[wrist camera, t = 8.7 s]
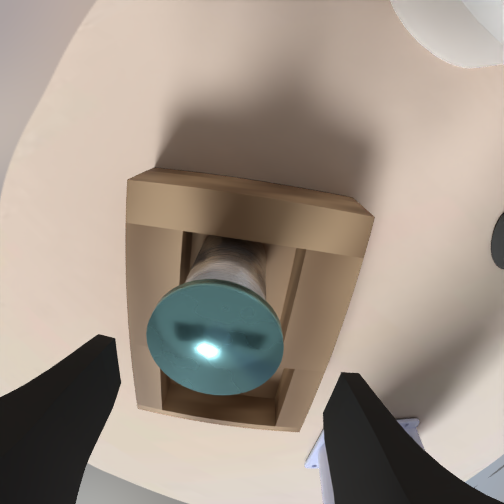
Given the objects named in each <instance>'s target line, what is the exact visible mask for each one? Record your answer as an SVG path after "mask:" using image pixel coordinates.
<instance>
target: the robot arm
mask: <svg viewBox="0 0 504 504" xmlns="http://www.w3.org/2000/svg"><path fill="white" fill-rule="evenodd" d="M120 384H121V379H120V372H119V365H118V358H117V350H116V341H115V338H112V337H108V336H104V335H100V334H98V335H97V336H95V337H94V338H92V339H91V340H89V341H88V342H87V343H85V344H84V345H82V346H81V347H80V348H78V349H77V350H76V351H74V352H73V353H71V354H70V355H69V356H67V357H66V358H65V359H63V360H62V361H60V362H59V363H57V364H56V365H55V366H53V367H52V368H50V369H49V370H47V371H46V372H44V373H42V374H41V375H39V376H38V377H36V378H35V379H33V380H31V381H30V382H28V383H27V384H25V385H23V386H21V387H20V388H18V389H16V390H14V391H12V392H10V393H8V394H6V395H4V396H2V397H0V504H75V503H76V499H77V495H78V491H79V487H80V484H81V481H82V477H83V473H84V470H85V467H86V465H87V462H88V460H89V457H90V455H91V453H92V451H93V449H94V446H95V444H96V442H97V440H98V438H99V436H100V434H101V432H102V430H103V427H104V425H105V423H106V421H107V419H108V417H109V415H110V413H111V411H112V408H113V406H114V403H115V400H116V397H117V394H118V391H119V387H120ZM419 423H420V422H419V419H417V418H415V419H401V420H396V419H395V418H394V417H393V416H392V414H391V413H390V412H389V411H388V410H387V408H386V407H385V406H384V405H383V403H382V402H381V401H380V399H379V398H378V397H377V396H376V394H375V393H374V392H373V390H372V389H371V388H370V387H369V385H368V384H367V383H366V381H365V380H364V379H363V378H362V376H361V375H360V374H359V373H345V372H341V375H340V377H339V379H338V381H337V384H336V386H335V388H334V390H333V393H332V395H331V397H330V399H329V401H328V403H327V405H326V408H325V410H324V412H323V425H324V429H323V431H322V433H321V435H320V437H319V439H318V440H317V442H316V444H315V446H314V448H313V449H312V451H311V453H310V455H309V457H308V458H307V460H306V462H305V464H304V465H305V467H306V468H319V472H320V481H321V490H322V499H323V504H504V503H503V502H500V501H498V500H496V499H494V498H492V497H489V496H487V495H485V494H484V493H482V492H480V491H478V490H476V489H475V488H473V487H471V486H469V485H468V484H467V483H465V482H463V481H462V480H460V479H459V478H458V477H456V476H455V475H453V474H452V473H451V472H449V471H448V470H447V469H445V468H444V467H443V466H442V465H440V464H439V463H438V462H437V461H436V460H435V459H433V458H432V457H431V456H430V455H429V454H428V453H427V452H426V451H425V450H424V447H423V444H422V442H421V439H420V436H419V434H418V431H417V429H416V427H417V426H418V424H419Z"/></svg>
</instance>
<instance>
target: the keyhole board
mask: <svg viewBox="0 0 504 504" xmlns="http://www.w3.org/2000/svg"><path fill="white" fill-rule="evenodd" d="M374 218H375V217H374V216H373V215H372V214H371V213H370V212H368V211H367V210H366V209H365V208H364V207H363V206H362V205H360V204H359V203H358V202H357V201H356V200H355V199H354V198H352V197H347V196H342V195H336V194H331V193H326V192H321V191H315V190H310V189H304V188H299V187H293V186H287V185H281V184H275V183H269V182H262V181H256V180H249V179H243V178H236V177H229V176H221V175H214V174H206V173H198V172H190V171H181V170H172V169H163V168H152V169H150V170H148V171H145V172H143V173H141V174H139V175H136V176H134V177H132V178H130V179H128V180H127V197H126V289H127V310H128V325H129V338H130V349H131V359H132V368H133V377H134V385H135V393H136V400H137V407H138V409H141V410H146V411H150V412H154V413H159V414H163V415H168V416H173V417H178V418H183V419H189V420H194V421H200V422H206V423H213V424H219V425H227V426H234V427H243V428H252V429H262V430H274V431H288V432H300V429H301V427H302V425H303V423H304V420H305V418H306V416H307V414H308V411H309V409H310V407H311V404H312V402H313V400H314V397H315V395H316V392H317V390H318V388H319V385H320V383H321V380H322V378H323V375H324V373H325V370H326V367H327V365H328V362H329V360H330V357H331V354H332V352H333V349H334V346H335V344H336V341H337V338H338V335H339V333H340V330H341V327H342V324H343V321H344V318H345V315H346V312H347V309H348V306H349V303H350V300H351V297H352V294H353V291H354V288H355V285H356V282H357V278H358V275H359V272H360V268H361V265H362V262H363V258H364V255H365V251H366V248H367V244H368V241H369V237H370V233H371V230H372V226H373V222H374ZM209 235H215V236H222V237H228V238H235V239H242V240H248V241H255V242H261V243H262V244H263V247H264V249H265V254H266V301H267V302H268V303H269V305H270V306H271V307H272V308H273V310H274V311H275V313H276V314H277V316H278V318H279V320H280V323H281V327H282V333H283V344H284V350H283V357H282V361H281V363H280V365H279V367H278V369H277V371H276V372H275V373H274V374H273V376H272V377H271V378H270V379H269V380H267V381H266V382H265V383H264V384H262V385H260V386H259V387H257V388H255V389H253V390H250V391H247V392H244V393H240V394H234V395H211V394H205V393H201V392H197V391H194V390H191V389H189V388H186V387H184V386H182V385H180V384H179V383H177V382H175V381H174V380H172V379H171V378H170V377H169V376H167V375H166V374H165V373H164V372H163V371H162V370H161V369H160V368H159V367H158V365H157V364H156V362H155V361H154V359H153V358H152V356H151V354H150V351H149V348H148V344H147V338H146V332H147V325H148V322H149V319H150V317H151V315H152V313H153V311H154V309H155V307H156V306H157V304H158V302H159V301H160V300H161V298H162V297H163V296H164V295H165V294H166V293H168V292H169V291H170V290H172V289H173V288H175V287H177V286H179V285H181V284H184V283H185V281H186V279H187V276H188V274H189V272H190V270H191V268H192V266H193V264H194V262H195V259H196V257H197V255H198V253H199V251H200V249H201V247H202V245H203V243H204V241H205V240H206V238H207V237H208V236H209Z"/></svg>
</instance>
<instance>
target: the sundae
mask: <svg viewBox="0 0 504 504" xmlns="http://www.w3.org/2000/svg"><path fill="white" fill-rule="evenodd" d="M491 253H492V258H493V260H494V262H495V264H496V265H497V266H498V267H499V268H501V269H504V214H503V215H502V216H501V217H500V219H499V220H498V222H497V224H496V227H495V229H494V232H493V236H492V242H491Z"/></svg>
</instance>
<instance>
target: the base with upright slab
mask: <svg viewBox="0 0 504 504" xmlns="http://www.w3.org/2000/svg"><path fill="white" fill-rule="evenodd" d="M390 2H391V4H392V6H393V9H394V11H395V13H396V14H397V16H398V17H399V19H400V20H401V22H402V23H403V25H404V27H405V28H406V29H407V30H408V31H409V33H410V34H411V35H412V36H413V37H414V38H415V39H416V40H417V41H418V42H419V44H421V45H422V46H423V47H424V48H426V49H427V50H428V51H430V52H431V53H432V54H433V55H434V56H436V57H438V58H440V59H442V60H444V61H445V62H447V63H449V64H451V65H455V66H459V67H462V68H481V67H488V66H496V65H504V0H390Z"/></svg>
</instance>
